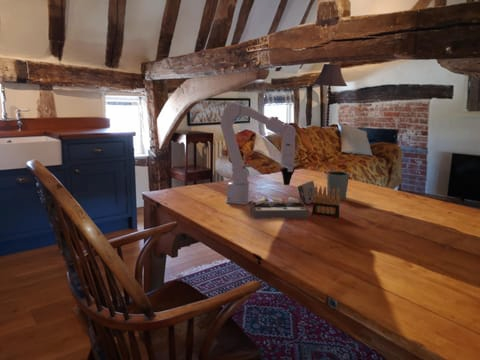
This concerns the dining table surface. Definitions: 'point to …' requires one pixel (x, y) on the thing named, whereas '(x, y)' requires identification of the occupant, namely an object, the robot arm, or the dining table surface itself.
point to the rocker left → (261, 200)
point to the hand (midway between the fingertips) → (286, 184)
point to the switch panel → (279, 210)
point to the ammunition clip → (326, 203)
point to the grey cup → (338, 182)
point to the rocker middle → (278, 200)
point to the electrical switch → (307, 192)
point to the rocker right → (295, 200)
